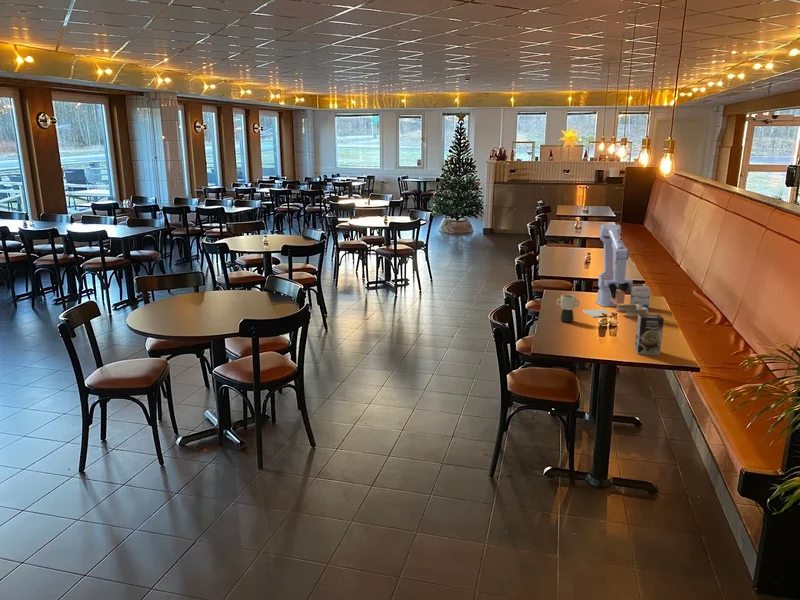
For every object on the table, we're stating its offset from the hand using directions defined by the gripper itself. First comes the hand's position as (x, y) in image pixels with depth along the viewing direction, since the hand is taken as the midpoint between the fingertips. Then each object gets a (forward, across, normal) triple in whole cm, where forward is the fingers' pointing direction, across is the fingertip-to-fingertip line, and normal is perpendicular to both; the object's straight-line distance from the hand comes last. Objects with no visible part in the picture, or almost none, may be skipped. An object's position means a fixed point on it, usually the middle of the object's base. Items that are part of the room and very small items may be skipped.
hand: (617, 297), depth 309 cm
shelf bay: (+9, +8, 0) cm, 12 cm away
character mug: (+9, -30, -7) cm, 32 cm away
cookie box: (+9, -18, -58) cm, 61 cm away
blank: (+2, 0, 0) cm, 2 cm away
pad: (+9, -8, +3) cm, 13 cm away
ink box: (+9, +19, +10) cm, 23 cm away
